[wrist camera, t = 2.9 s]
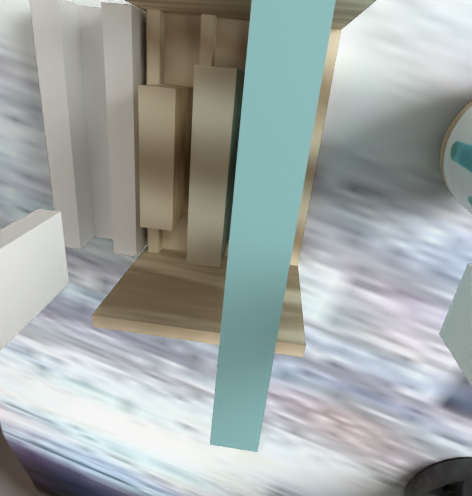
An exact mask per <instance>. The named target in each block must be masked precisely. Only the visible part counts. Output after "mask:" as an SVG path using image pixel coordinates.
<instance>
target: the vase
mask: <svg viewBox="0 0 472 496" xmlns="http://www.w3.org/2000/svg"><path fill="white" fill-rule="evenodd" d="M439 160H440V170H441V174H442V178H443V180H444V182H445V184H446V186H447V188H448V190H449V191H450V193H451V194H452V195H453V196H454V198H455V199H456V200H457V201H458V202H459V203H460V204H461V205H462V206H463V207H464V208H465V209H467V210H468V211H469V212H470V213H471V214H472V101H471V102H469V103H468V104H467V105H466V106H465V107H464V108H463V109H462V110H461V111H460V112H459V113H458V114H457V116H456V117H455V118H454V120H453V121H452V122H451V124H450V126H449V127H448V129H447V131H446V133H445V136H444V138H443V141H442V145H441V149H440V159H439Z"/></svg>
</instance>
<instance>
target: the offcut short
mask: <svg viewBox="0 0 472 496" xmlns="http://www.w3.org/2000/svg"><path fill="white" fill-rule="evenodd" d="M192 111H193V87H190V86H181V85H171V84H151V85H138V115H139V181H140V227H146V228H153V229H161V230H169V231H172V230H173V229H174V228H175V226H176V225H177V224H178V222H179V221H180V219H181V218H182V217H183V215H184V214H185V212H186V211H187V210H188V206H189V182H190V158H191V134H192Z"/></svg>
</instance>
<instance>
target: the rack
mask: <svg viewBox="0 0 472 496" xmlns="http://www.w3.org/2000/svg"><path fill="white" fill-rule="evenodd" d="M125 1H127V2H129V3H131V4H133V5H135V6H137V7H139V8H141V9H142V10H144V11H146V85H151V84H171V85H181V86H190V87H194V64H195V65H205V66H215V67H225V68H235V69H240V70H243V71H245V66H246V56H247V45H248V35H249V24H250V13H251V3H252V0H125ZM375 1H376V0H336V1H335V7H334V13H333V19H332V25H331V30H330V36H329V42H328V48H327V53H326V59H325V65H324V71H323V76H322V82H321V88H320V94H319V99H318V105H317V111H316V117H315V122H314V128H313V134H312V140H311V145H310V151H309V157H308V163H307V168H306V174H305V180H304V186H303V191H302V197H301V203H300V209H299V215H298V220H297V226H296V232H295V238H294V243H293V249H292V255H291V261H290V266H289V272H288V278H287V284H286V289H285V295H284V301H283V307H282V312H281V318H280V324H279V330H278V335H277V341H276V347H275V353H278V354H285V355H292V356H298V357H303V356H304V351H305V346H306V344H305V334H304V324H303V314H302V304H301V294H300V283H299V273H298V262H299V257H300V251H301V246H302V240H303V235H304V229H305V224H306V219H307V213H308V208H309V202H310V197H311V191H312V186H313V181H314V175H315V170H316V164H317V159H318V153H319V148H320V143H321V137H322V132H323V126H324V121H325V115H326V110H327V105H328V99H329V94H330V88H331V83H332V77H333V72H334V66H335V61H336V56H337V50H338V45H339V39H340V34H341V29H343V28H344V27H345V26H346V25H347V24H349V23H350V22H351V21H352V20H353V19H355V18H356V17H357V16H358V15H359V14H361V13H362V12H363V11H364V10H365V9H367V8H368V7H369V6H370V5H371V4H373V3H374V2H375ZM187 229H188V210H187V211H186V212H185V214H184V215H183V217H182V218H181V219H180V221H179V222H178V224H177V225H176V226H175V228H174V229H173V230H172V231H169V230H161V229H153V228H147V247H146V248H145V249H144V251H143V252H142V253H141V254H140V256H139V257H138V258H137V259H136V261H135V262H134V263H133V264H132V266H131V267H130V268H129V269H128V271H127V272H126V273H125V274H124V276H123V277H122V278H121V279H120V281H119V282H118V283H117V284H116V286H115V287H114V288H113V289H112V291H111V292H110V293H109V294H108V296H107V297H106V298H105V299H104V301H103V302H102V303H101V304H100V306H99V307H98V308H97V309H96V311H95V312H94V313H93V314H92V321H93V327H100V328H107V329H113V330H120V331H127V332H134V333H141V334H148V335H155V336H161V337H168V338H175V339H182V340H189V341H196V342H202V343H209V344H216V345H219V343H220V333H221V322H222V311H223V301H224V290H225V279H226V269H227V258H228V247H229V241H228V244H227V247H226V250H225V253H224V256H223V260H222V263H221V266H220V267H214V266H206V265H199V264H191V263H186V253H187Z"/></svg>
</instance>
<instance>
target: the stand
mask: <svg viewBox="0 0 472 496" xmlns="http://www.w3.org/2000/svg"><path fill="white" fill-rule="evenodd" d="M29 1H30V9H31V18H32V26H33V35H34V43H35V52H36V60H37V69H38V77H39V86H40V94H41V103H42V112H43V120H44V129H45V137H46V146H47V154H48V163H49V171H50V180H51V188H52V197H53V205H54V211H61V217H62V226H63V235H64V244H65V247H68V248H76V249H81V248H83V247H84V246H85V245H86V244H87V243H89V242H90V241H91V240H92V239H93V238H94V237H98V238H106V239H113V251H114V254H121V255H128V256H136V257H137V255H138V254H139V253H140V252H141V250H142V249H143V248H144V247H145V246H146V244H147V228H146V227H140V181H139V115H138V85H146V12H144V11H142V10H140V9H138V8H136V7H135V6H133V5H128V4H117V3H106V2H101V6H102V8H98V7H87V6H78V5H75V4H73V3H70V2H67V1H65V0H29Z"/></svg>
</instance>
